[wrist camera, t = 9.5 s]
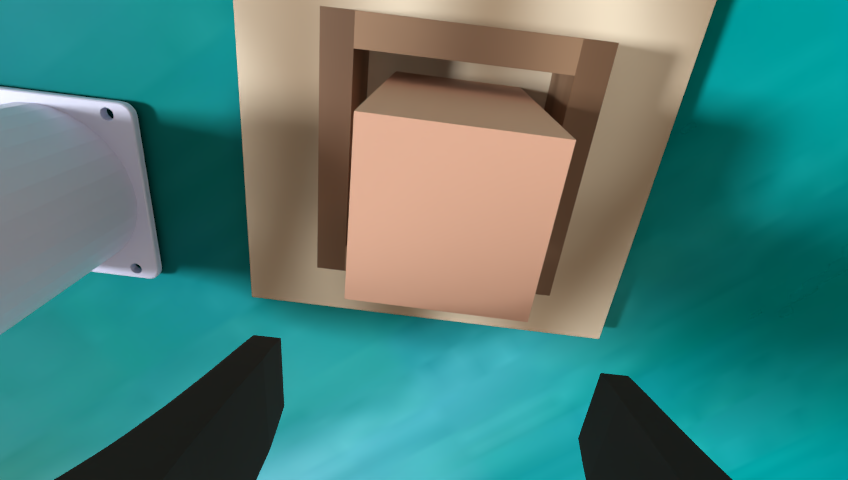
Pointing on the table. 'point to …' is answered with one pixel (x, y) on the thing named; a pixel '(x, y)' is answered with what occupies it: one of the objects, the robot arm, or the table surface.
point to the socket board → (473, 61)
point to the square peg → (452, 196)
